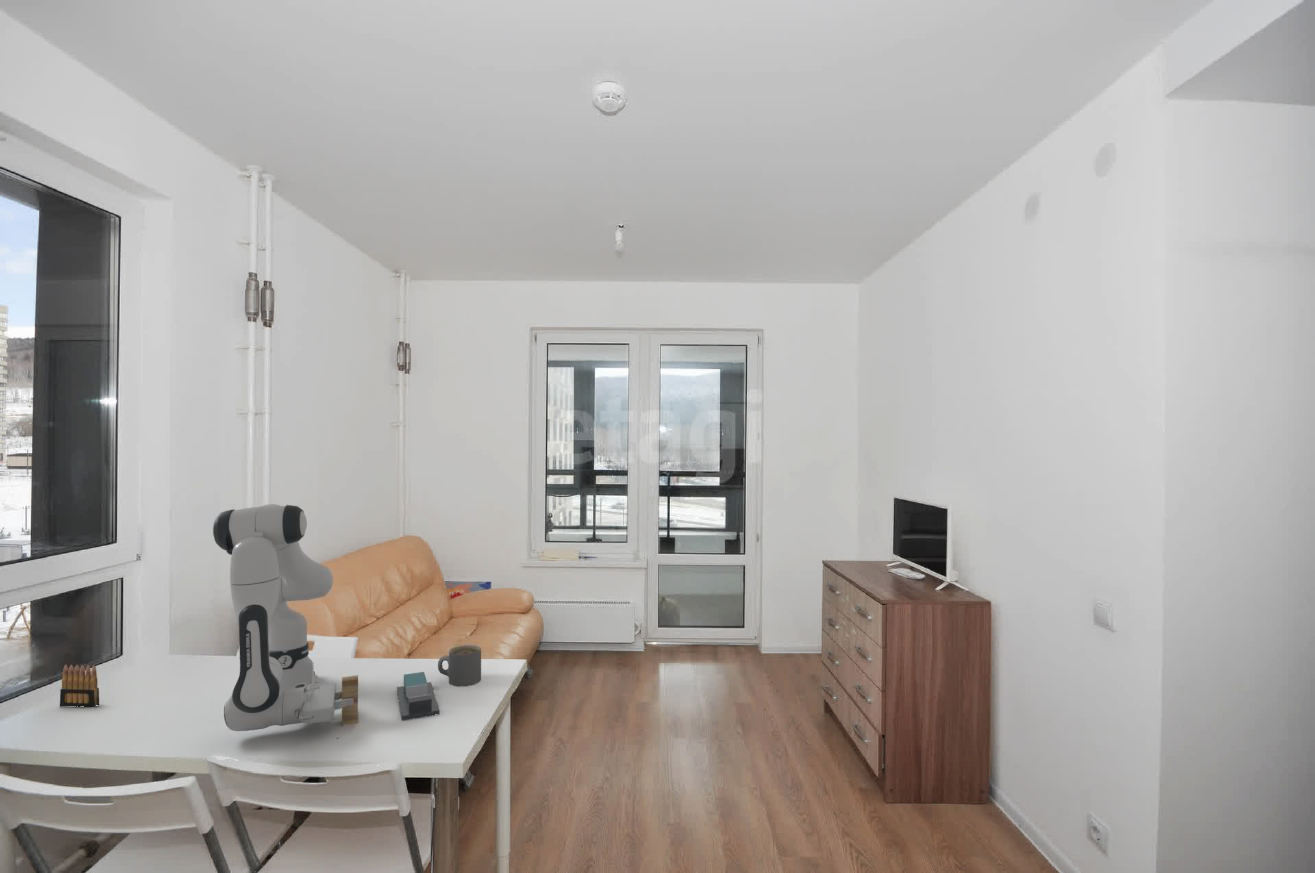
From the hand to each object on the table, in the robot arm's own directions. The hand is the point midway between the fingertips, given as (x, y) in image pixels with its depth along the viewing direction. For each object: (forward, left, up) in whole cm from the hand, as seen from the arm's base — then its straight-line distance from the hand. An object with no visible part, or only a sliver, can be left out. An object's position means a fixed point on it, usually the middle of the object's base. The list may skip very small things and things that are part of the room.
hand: (353, 697), depth 182 cm
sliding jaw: (-14, +17, -5) cm, 23 cm away
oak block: (0, -1, -7) cm, 7 cm away
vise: (-7, +17, -7) cm, 20 cm away
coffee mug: (-20, +31, -7) cm, 38 cm away
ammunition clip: (-45, -73, -7) cm, 86 cm away
